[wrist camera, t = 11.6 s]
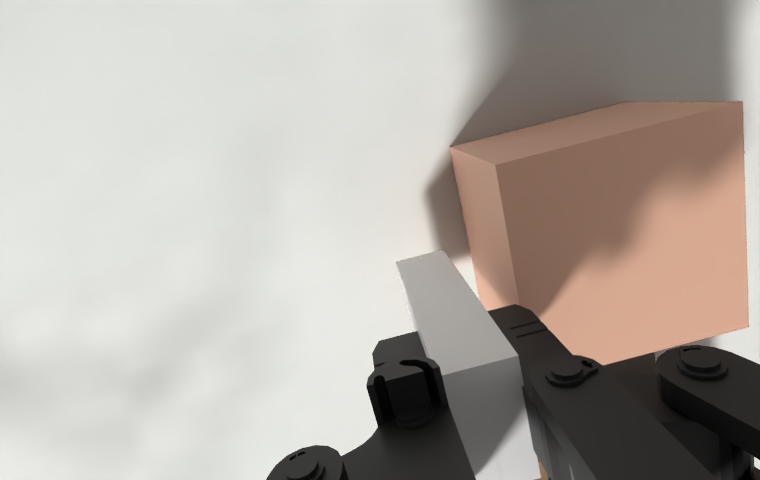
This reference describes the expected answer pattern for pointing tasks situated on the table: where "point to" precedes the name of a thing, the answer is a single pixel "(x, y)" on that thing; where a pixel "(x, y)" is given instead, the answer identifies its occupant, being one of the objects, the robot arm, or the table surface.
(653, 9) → the table surface
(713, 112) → the block
